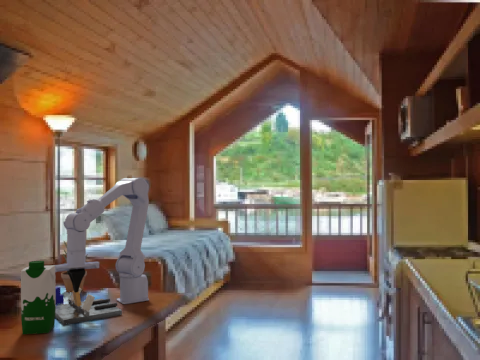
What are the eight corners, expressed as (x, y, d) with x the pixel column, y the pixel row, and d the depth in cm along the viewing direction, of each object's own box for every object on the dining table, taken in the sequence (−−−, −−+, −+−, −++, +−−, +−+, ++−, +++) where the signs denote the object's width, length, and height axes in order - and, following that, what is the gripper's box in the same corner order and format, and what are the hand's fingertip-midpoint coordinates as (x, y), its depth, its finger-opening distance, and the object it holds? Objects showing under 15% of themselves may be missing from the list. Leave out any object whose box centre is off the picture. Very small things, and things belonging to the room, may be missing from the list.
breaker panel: (101, 302, 165) (101, 294, 165) (122, 315, 148) (122, 306, 149) (48, 310, 155) (48, 302, 155) (64, 325, 138) (64, 315, 138)
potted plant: (69, 287, 190) (69, 227, 190) (91, 288, 188) (90, 227, 188) (55, 293, 180) (54, 229, 180) (77, 294, 178) (77, 229, 178)
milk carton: (17, 335, 129) (17, 263, 129) (27, 326, 138) (27, 258, 138) (51, 334, 130) (50, 262, 131) (58, 324, 139) (58, 257, 140)
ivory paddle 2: (85, 308, 147) (91, 295, 148) (89, 311, 144) (95, 297, 145) (82, 307, 146) (87, 294, 147) (85, 310, 143) (91, 296, 144)
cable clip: (63, 303, 166) (63, 286, 166) (54, 306, 161) (54, 288, 161) (37, 300, 170) (37, 283, 170) (28, 303, 166) (27, 286, 166)
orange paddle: (78, 303, 152) (76, 290, 152) (81, 305, 149) (79, 292, 149) (74, 304, 152) (72, 291, 151) (77, 306, 149) (75, 293, 148)
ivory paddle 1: (73, 299, 158) (78, 287, 159) (76, 302, 155) (81, 289, 156) (69, 298, 157) (75, 286, 159) (72, 300, 155) (78, 288, 156)
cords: (109, 301, 160) (109, 298, 160) (117, 306, 154) (117, 303, 154) (87, 304, 156) (87, 301, 156) (94, 309, 149) (94, 306, 149)
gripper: (94, 247, 158) (94, 287, 157) (49, 250, 149) (49, 292, 149) (101, 249, 152) (101, 291, 152) (55, 252, 144) (54, 297, 143)
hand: (75, 292), depth 150 cm, fingers closed, pressing on orange paddle
